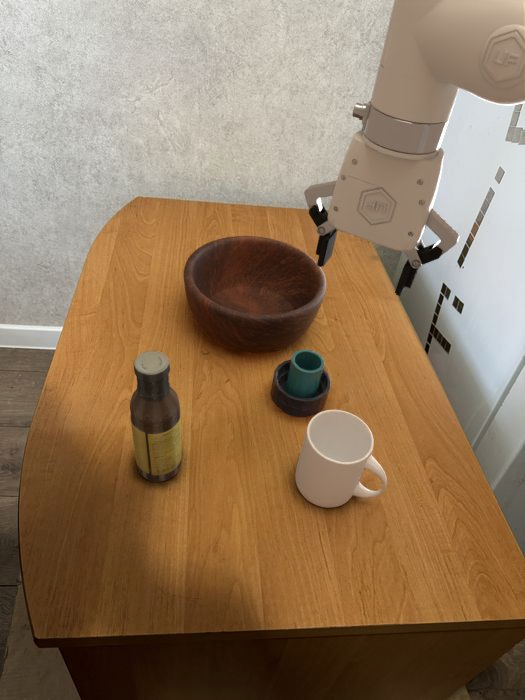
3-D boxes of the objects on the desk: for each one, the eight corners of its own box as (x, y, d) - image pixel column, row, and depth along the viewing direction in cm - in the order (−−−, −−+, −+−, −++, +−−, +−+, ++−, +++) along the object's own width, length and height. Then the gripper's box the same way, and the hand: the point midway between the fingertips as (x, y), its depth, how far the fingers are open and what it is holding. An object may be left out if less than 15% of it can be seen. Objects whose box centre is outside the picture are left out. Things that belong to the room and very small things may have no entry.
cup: (319, 392, 86) (329, 357, 81) (307, 412, 83) (317, 377, 77) (291, 380, 87) (299, 345, 82) (279, 399, 84) (286, 364, 78)
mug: (362, 535, 69) (384, 490, 62) (282, 489, 73) (295, 441, 65) (385, 487, 75) (408, 441, 68) (310, 447, 78) (324, 399, 71)
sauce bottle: (188, 453, 75) (191, 352, 62) (171, 489, 71) (170, 389, 57) (146, 440, 76) (140, 338, 63) (126, 476, 72) (115, 373, 58)
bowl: (333, 391, 87) (338, 372, 84) (312, 428, 81) (317, 409, 78) (284, 370, 90) (288, 351, 87) (260, 404, 84) (263, 385, 80)
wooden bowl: (232, 385, 86) (237, 338, 79) (158, 300, 100) (157, 254, 93) (343, 335, 98) (356, 291, 91) (264, 266, 112) (270, 223, 105)
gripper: (307, 115, 51) (282, 265, 62) (487, 168, 46) (424, 318, 58) (334, 96, 56) (307, 237, 67) (499, 142, 51) (439, 285, 63)
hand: (361, 275), depth 63 cm, fingers open, 9 cm apart
